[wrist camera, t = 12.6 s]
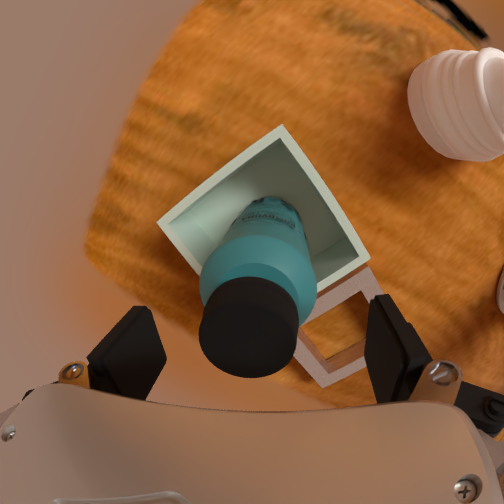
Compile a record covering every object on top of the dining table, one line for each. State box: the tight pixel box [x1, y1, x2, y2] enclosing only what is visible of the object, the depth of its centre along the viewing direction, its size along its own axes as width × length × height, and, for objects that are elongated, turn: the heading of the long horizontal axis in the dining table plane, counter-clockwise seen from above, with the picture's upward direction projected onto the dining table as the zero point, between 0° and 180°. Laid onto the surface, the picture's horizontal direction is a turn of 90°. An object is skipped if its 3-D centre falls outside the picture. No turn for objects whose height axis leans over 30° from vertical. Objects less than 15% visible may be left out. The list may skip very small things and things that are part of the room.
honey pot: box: [407, 47, 504, 162], centre depth 14 cm, size 13×13×18 cm
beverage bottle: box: [199, 196, 317, 378], centre depth 19 cm, size 6×7×20 cm
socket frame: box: [293, 262, 383, 388], centre depth 32 cm, size 13×13×3 cm
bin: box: [157, 124, 371, 293], centre depth 26 cm, size 14×14×7 cm
